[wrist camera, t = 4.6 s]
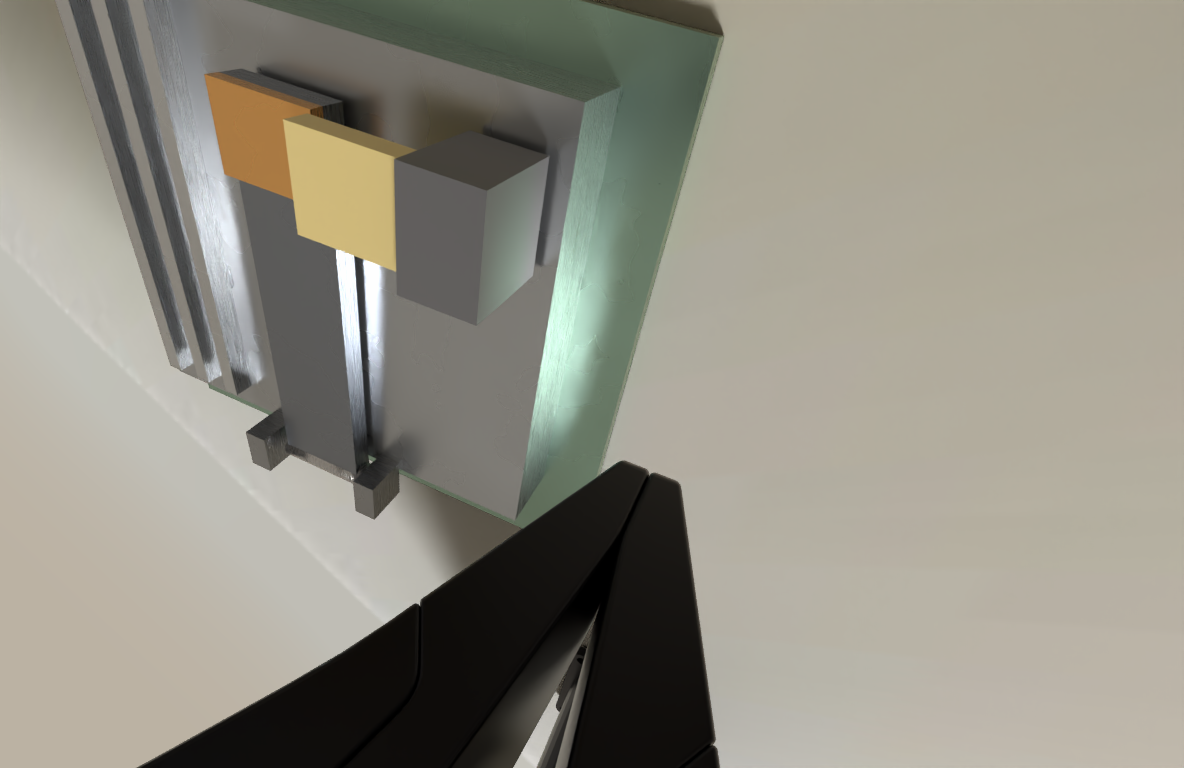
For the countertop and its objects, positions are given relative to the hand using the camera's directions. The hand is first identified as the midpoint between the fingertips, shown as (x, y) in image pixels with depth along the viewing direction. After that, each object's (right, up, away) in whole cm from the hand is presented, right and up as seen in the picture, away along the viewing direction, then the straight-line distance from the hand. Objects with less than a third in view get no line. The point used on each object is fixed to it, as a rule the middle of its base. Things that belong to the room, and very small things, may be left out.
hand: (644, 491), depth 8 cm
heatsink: (-8, +6, +13) cm, 16 cm away
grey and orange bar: (-9, +4, +11) cm, 15 cm away
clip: (-4, +6, +6) cm, 10 cm away
